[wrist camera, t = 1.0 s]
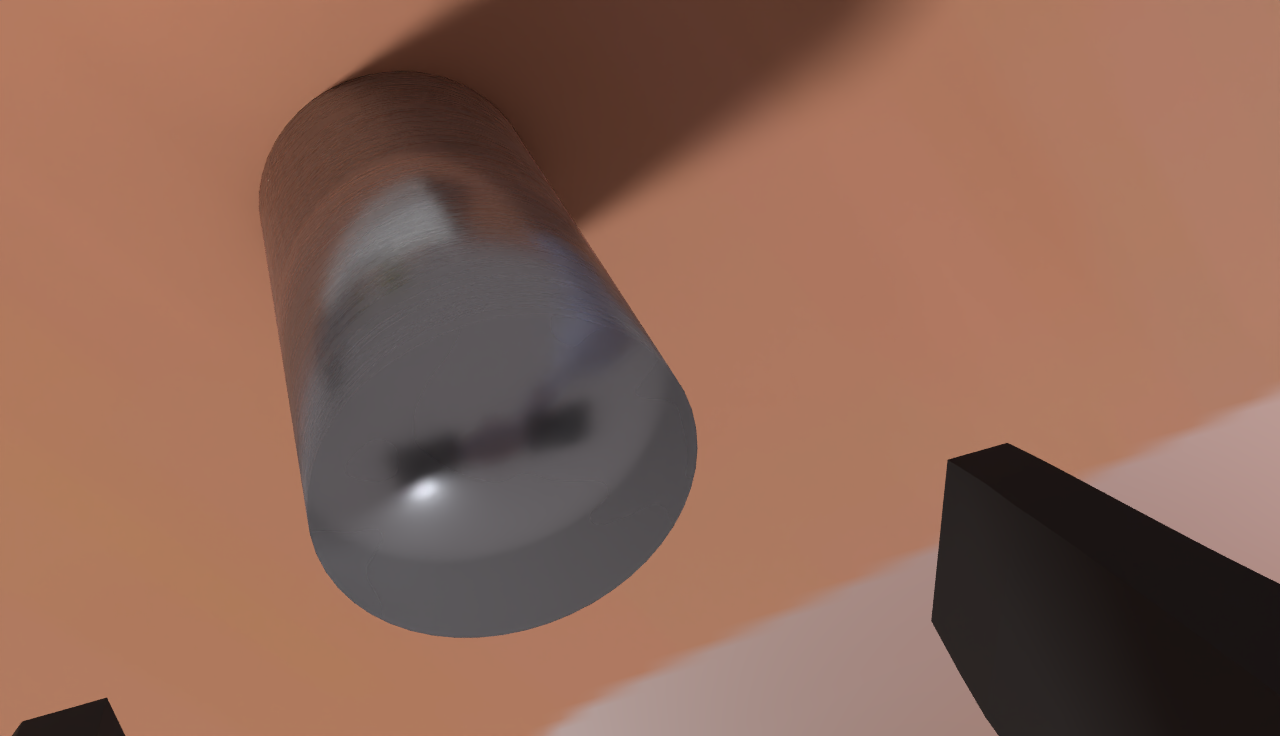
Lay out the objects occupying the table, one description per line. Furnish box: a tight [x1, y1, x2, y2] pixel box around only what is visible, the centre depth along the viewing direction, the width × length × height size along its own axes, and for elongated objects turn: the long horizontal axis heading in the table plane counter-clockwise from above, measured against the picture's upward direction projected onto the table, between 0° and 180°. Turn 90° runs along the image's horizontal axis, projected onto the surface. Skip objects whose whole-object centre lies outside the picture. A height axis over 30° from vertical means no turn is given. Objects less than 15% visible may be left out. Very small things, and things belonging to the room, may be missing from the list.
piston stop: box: [259, 71, 697, 638], centre depth 15 cm, size 4×4×7 cm
